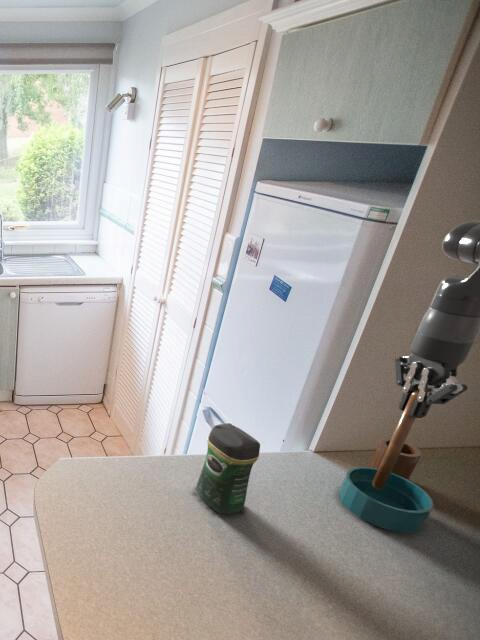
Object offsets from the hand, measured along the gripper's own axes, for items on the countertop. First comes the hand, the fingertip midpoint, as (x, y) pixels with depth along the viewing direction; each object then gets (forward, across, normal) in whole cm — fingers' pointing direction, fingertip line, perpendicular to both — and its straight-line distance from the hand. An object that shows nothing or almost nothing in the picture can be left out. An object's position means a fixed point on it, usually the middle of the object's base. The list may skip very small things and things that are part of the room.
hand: (410, 413), depth 90 cm
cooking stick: (+19, 0, 0) cm, 19 cm away
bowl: (+25, 0, -2) cm, 25 cm away
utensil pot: (+25, +11, -12) cm, 30 cm away
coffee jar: (+25, +1, +32) cm, 41 cm away
